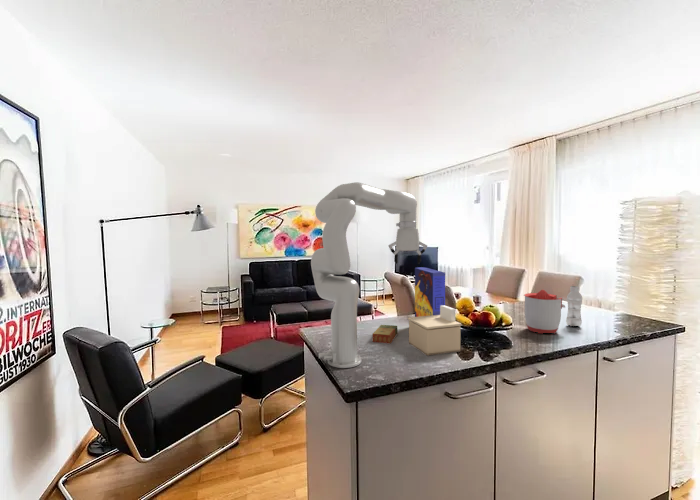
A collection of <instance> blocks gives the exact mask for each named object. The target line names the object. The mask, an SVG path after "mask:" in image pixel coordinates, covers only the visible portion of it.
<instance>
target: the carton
mask: <svg viewBox="0 0 700 500" xmlns="http://www.w3.org/2000/svg"><path fill="white" fill-rule="evenodd" d="M397 335H398V325H391V324H380V325H379V326H378V327H377V329H375V331H374V332H373V333H372V335H371V336H372V343H379V344H389V345H390V344H392V342H393V341H394V339H395V338H396V337H397Z"/></svg>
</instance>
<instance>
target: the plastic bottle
mask: <svg viewBox="0 0 700 500" xmlns="http://www.w3.org/2000/svg"><path fill="white" fill-rule="evenodd" d="M566 301H567V316H566V319H565V322H566V325H567V326H568V325H570V326H569V327H571V326H580V327H581V326H582V323H583V322H582V314H581V310H582V303H583V296H582V294H581V293H580V287H579V286H574V285H571V286H570V287H569V292H568V294H567V296H566Z"/></svg>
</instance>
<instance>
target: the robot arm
mask: <svg viewBox="0 0 700 500" xmlns="http://www.w3.org/2000/svg"><path fill="white" fill-rule="evenodd" d="M357 206H359V207H364V208H368V209H371V210H375V211H376V210H378V211H379V210H380V211H386V212H387V213H388V214H391V215H399V221H398V222H397V223H395V225H396V227H398V228H397V231H396V236H395V237H396V241H393V242H392V243H390V244H388V249H389V250H390V252H391V253H392V254H393V256H394V258H393V260H394V263H395V264H397V265H398V263H399V255H398V253H399V252H416V253H417V258H416V259H417V261H416V262H417V265H420V263H422V255H423V254H424V252H426V250H427V248H428V245H427V244H425V243H424V242H421V241H420V235H419V234H420V233H419V229H418V228H417V209H418V208H417V207H418V201H417V199H416V197H415V196H414V195H412V194H410V193H407V192H403V191H397V190H390V189H385V188H378V187H376V186H372V185H369V184H366V183H362V182H349V183H342V184H340V185H338V186H335V188H333V189H332V190H331V191H330V192H329V193H327V194H326V195H325V196H324V197H323V198H322V199H320V201H319V202H317V204H316V207H315V209H314V214H315V217H316V218H317V220H318V221H320V222H321V223H323V224H324V226H323V230H322V235H321V238H322V239H321V240H322V247H320V248H318V249H316V250H315V251H314V252H313V253H312V256H311V260H310V266H311V268H310V269H311V272H312V277H313V282H314V286H315V290H316V293H317V295H318V296H319V298H321V299H323V300H326V301H329V302H330V301H331V302H334V305H333V307H332V309H331V314H330V323H331V324H330V325H331V326H330V331H331V333H330V336H331V337H330V339H331V340H330V341H331V342H330V347H331V348H329V350H328V351H326V352H319V353H318V359H323V360H324V361H326V360H327V364H328V365H329V366H331V367H333V368H338V369H351V368H355V367H357V366H359V365H360V364H361V363H362V356H360V355H358V319H357V318H358V302H359V297H360V285H359V283H358V282H357V281H356V280H355V279H353V278H352V277H348V276H342V275H346V274H347V273H348V272H349V271H350V269H351V259H350V253H349V248H348V247H349V246H348V241H347V231H348V227H349V225H350V223H351V222H352V220H353V219H354V217H355V216H356V211H357ZM393 246H395V249H396V250H395V249H394V248H393ZM420 246H421V247H423V248H422V250H420Z"/></svg>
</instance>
